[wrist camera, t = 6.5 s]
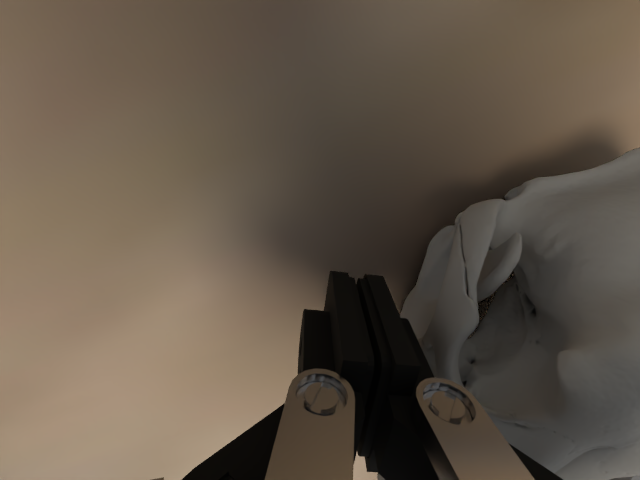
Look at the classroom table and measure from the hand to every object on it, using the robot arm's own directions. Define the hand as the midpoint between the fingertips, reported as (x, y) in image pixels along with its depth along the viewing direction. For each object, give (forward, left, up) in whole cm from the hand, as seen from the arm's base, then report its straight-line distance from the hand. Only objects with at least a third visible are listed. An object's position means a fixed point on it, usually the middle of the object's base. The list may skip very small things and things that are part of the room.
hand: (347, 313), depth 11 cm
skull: (0, +5, -2) cm, 6 cm away
